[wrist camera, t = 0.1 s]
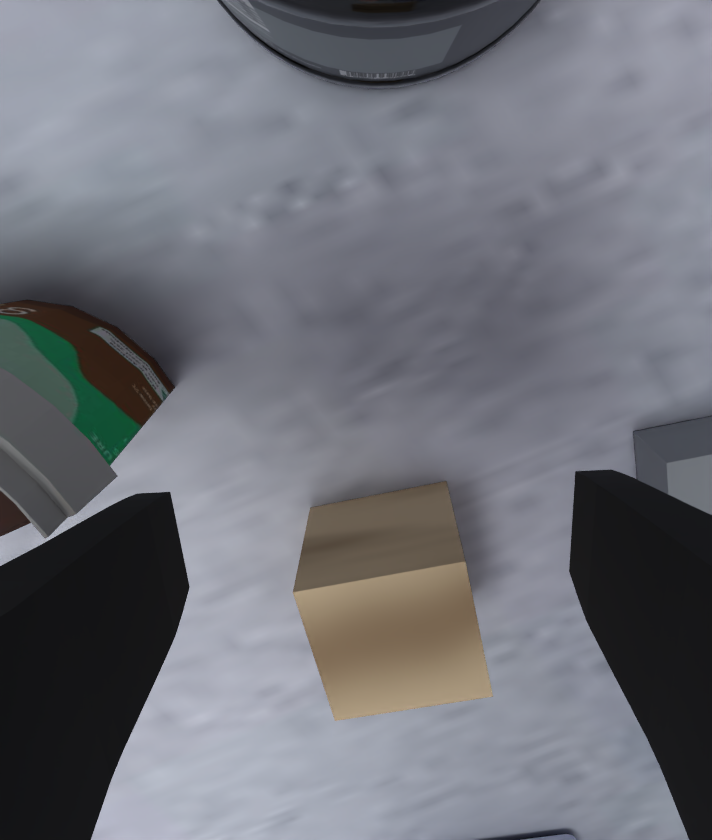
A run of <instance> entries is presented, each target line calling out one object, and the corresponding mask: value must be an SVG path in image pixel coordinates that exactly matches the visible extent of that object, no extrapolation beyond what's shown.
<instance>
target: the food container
mask: <svg viewBox="0 0 712 840" xmlns="http://www.w3.org/2000/svg"><path fill="white" fill-rule="evenodd" d="M174 388H175V387H174V386H173V384H172V383H171V382H170V380H169V379H168V377H167V376H166V375H165V373H164V372H163V370H162V369H161V368H160V366H159V365H158V363H157V362H156V361H155V359H154V358H153V357H151V356H150V355H149V354H148V353H147V352H146V351H144V350H143V349H142V348H141V347H140V346H139V345H137V344H136V343H135V342H134V341H133V340H132V339H130V338H129V337H128V336H127V335H126V334H125V333H123V332H122V331H121V330H120V329H119V328H117V327H116V326H114V325H111V324H109V323H107V322H105V321H103V320H101V319H99V318H96V317H94V316H92V315H90V314H88V313H86V312H84V311H81V310H79V309H77V308H75V307H73V306H66V305H59V304H53V303H46V302H39V301H32V300H22V301H16V302H10V303H4V304H0V536H2V535H5V534H7V533H9V532H11V531H14V530H16V529H18V528H20V527H23V526H25V525H27V524H29V523H32V524H33V525H34V526H35V528H36V529H37V530H38V531H39V532H40V533H41V535H42V536H43V537H44V538H47V537H49V536H50V535H51V534H52V533H53V532H54V531H55V529H56V528H57V527H58V526H59V525H60V524H61V523H62V522H63V521H64V520H65V519H66V518H67V517H70V516H73V515H75V514H77V513H78V512H79V511H80V510H81V509H82V508H83V507H84V506H85V505H87V504H88V503H89V502H90V501H91V500H92V499H93V498H94V497H95V496H96V495H98V494H99V493H100V492H101V491H102V490H103V489H104V488H105V487H106V486H107V485H108V484H110V483H111V482H112V481H113V480H114V479H115V478H116V477H117V475H116V473H115V472H114V471H113V470H112V468H111V467H110V465H111V464H112V463H113V461H114V460H115V459H116V458H117V457H118V455H119V454H120V453H121V452H122V451H123V449H124V448H125V447H126V446H127V445H128V443H129V442H130V441H131V440H132V439H133V437H134V436H135V435H136V434H137V433H138V431H139V430H140V429H141V428H142V427H143V425H144V424H145V423H146V422H147V421H148V419H149V418H150V417H151V416H152V415H153V413H154V412H155V411H156V410H157V409H158V407H159V406H160V405H161V404H162V403H163V401H164V400H165V399H166V398H167V397H168V395H169V394H170V393H171V392H172V391H173V389H174Z"/></svg>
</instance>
